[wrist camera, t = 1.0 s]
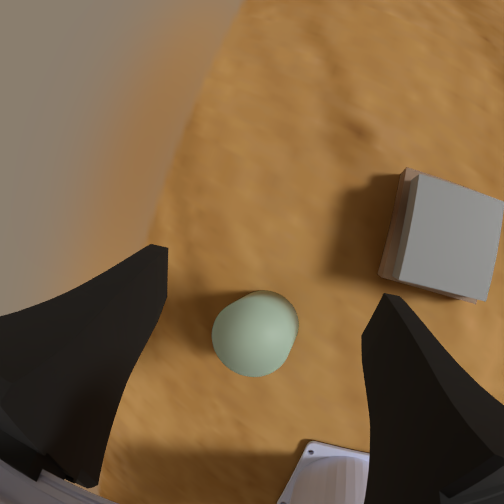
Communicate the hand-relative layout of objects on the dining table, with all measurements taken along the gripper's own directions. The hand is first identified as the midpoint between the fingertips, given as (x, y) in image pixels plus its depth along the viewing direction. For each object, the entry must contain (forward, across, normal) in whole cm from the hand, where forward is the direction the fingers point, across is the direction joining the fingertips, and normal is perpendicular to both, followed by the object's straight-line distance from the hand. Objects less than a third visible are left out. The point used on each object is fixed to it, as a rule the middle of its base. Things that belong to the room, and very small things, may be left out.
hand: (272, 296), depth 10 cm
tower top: (+8, -10, 0) cm, 13 cm away
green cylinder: (+8, -1, +9) cm, 12 cm away
